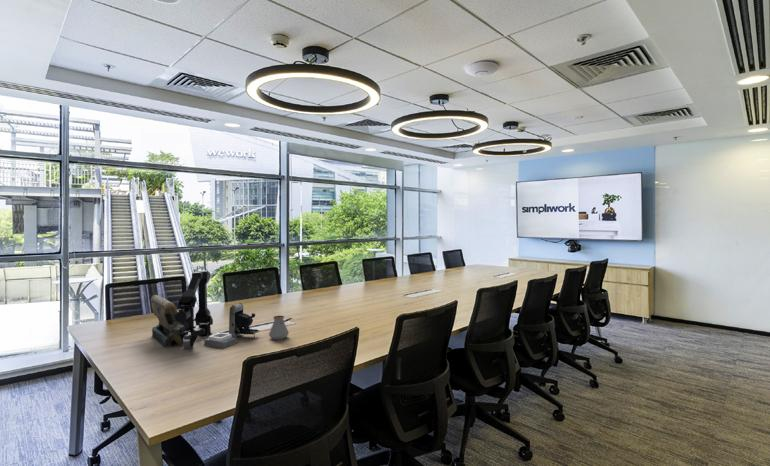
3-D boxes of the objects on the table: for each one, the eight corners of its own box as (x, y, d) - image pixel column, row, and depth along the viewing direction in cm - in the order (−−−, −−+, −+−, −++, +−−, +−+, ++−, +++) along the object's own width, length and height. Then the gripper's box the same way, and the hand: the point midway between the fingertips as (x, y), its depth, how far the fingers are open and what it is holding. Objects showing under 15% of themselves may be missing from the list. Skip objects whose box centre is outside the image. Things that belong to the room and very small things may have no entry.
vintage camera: (251, 341, 231) (253, 307, 231) (227, 338, 234) (229, 305, 234) (260, 336, 241) (261, 304, 240) (237, 334, 244) (238, 302, 243)
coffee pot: (265, 337, 237) (265, 312, 237) (283, 334, 245) (283, 310, 244) (282, 346, 221) (282, 319, 221) (300, 342, 229) (300, 316, 229)
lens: (180, 349, 215) (180, 336, 215) (188, 346, 220) (188, 333, 219) (187, 350, 213) (187, 337, 213) (195, 347, 218) (195, 334, 217)
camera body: (204, 345, 222) (204, 336, 222) (217, 340, 232) (217, 331, 231) (223, 348, 217) (223, 339, 217) (236, 343, 226) (236, 334, 226)
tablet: (192, 343, 226) (192, 299, 225) (166, 349, 215) (165, 303, 214) (170, 332, 247) (170, 292, 247) (145, 336, 237) (145, 295, 236)
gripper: (162, 319, 212) (162, 348, 212) (188, 323, 205) (188, 352, 205) (180, 314, 222) (180, 342, 223) (205, 318, 215) (205, 346, 215)
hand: (188, 346), depth 216 cm, fingers closed on lens, 5 cm apart
